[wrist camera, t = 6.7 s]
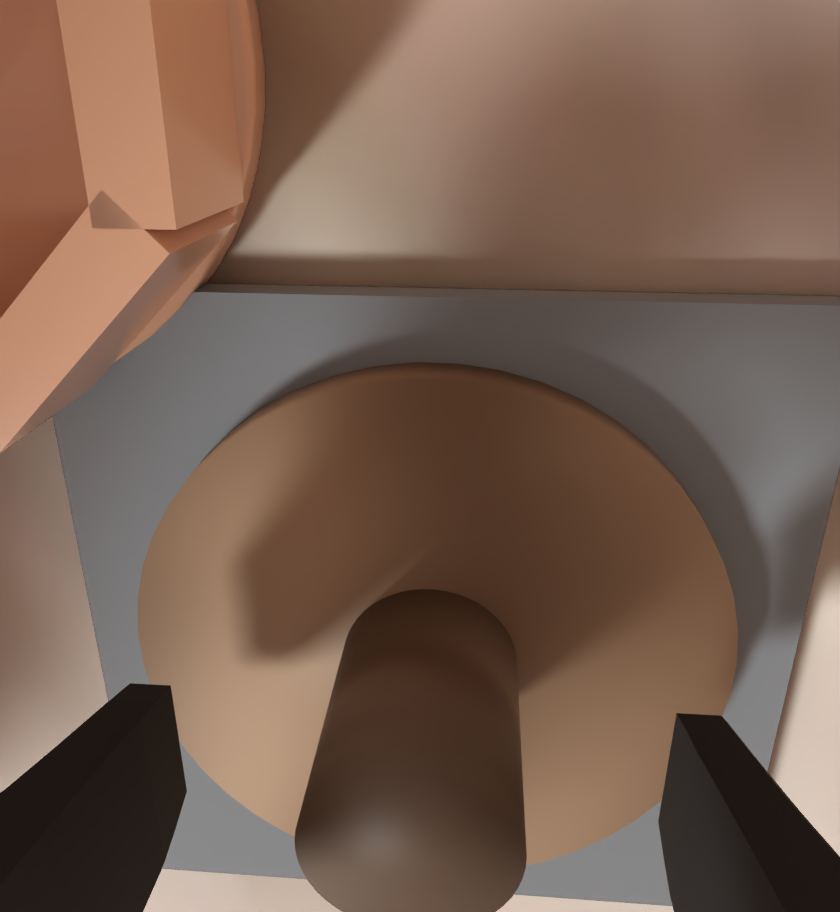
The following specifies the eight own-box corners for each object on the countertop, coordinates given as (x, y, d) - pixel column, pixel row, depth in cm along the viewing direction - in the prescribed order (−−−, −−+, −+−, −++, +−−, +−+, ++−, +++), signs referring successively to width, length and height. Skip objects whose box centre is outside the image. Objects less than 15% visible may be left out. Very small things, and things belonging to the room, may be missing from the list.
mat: (152, 842, 17) (140, 866, 17) (47, 280, 12) (27, 288, 12) (726, 883, 16) (734, 910, 16) (859, 296, 11) (877, 306, 11)
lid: (205, 830, 16) (110, 1074, 12) (101, 371, 12) (-89, 503, 8) (698, 843, 15) (775, 1111, 11) (755, 350, 11) (902, 487, 7)
